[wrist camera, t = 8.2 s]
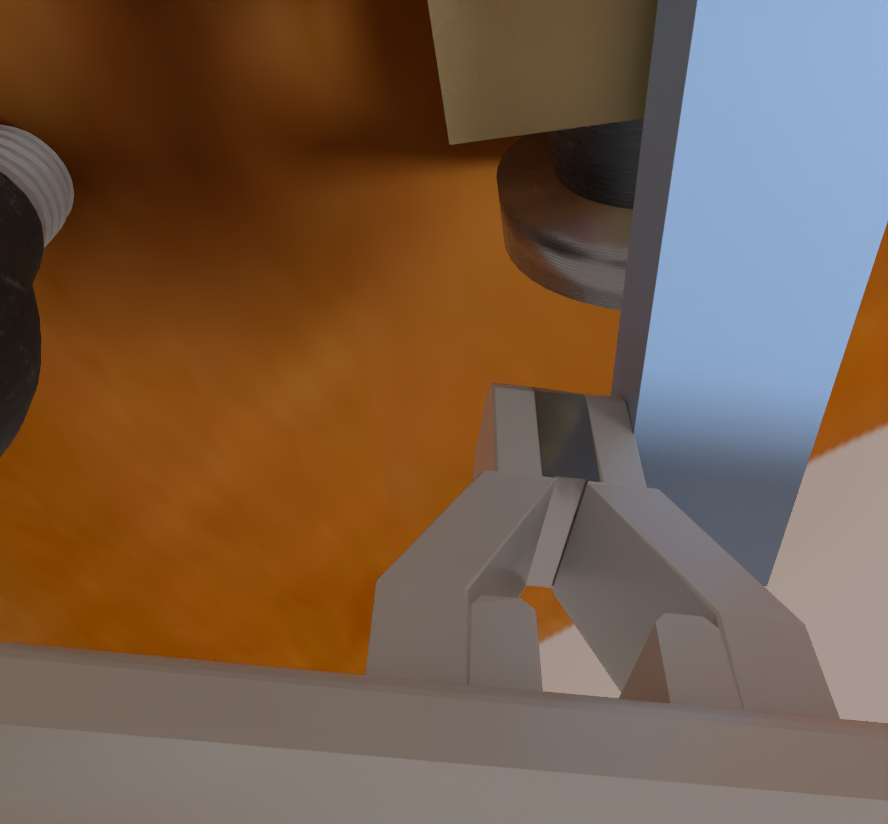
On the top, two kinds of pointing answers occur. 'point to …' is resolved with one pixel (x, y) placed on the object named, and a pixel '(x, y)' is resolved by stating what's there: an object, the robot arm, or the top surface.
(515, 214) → the valve
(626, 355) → the lever
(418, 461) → the top surface
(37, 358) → the light bulb
